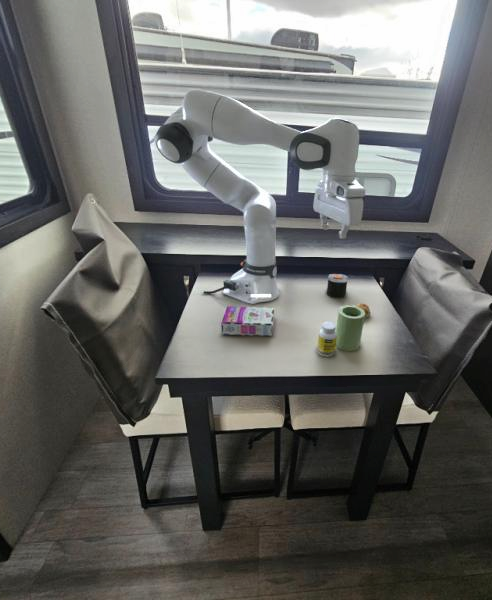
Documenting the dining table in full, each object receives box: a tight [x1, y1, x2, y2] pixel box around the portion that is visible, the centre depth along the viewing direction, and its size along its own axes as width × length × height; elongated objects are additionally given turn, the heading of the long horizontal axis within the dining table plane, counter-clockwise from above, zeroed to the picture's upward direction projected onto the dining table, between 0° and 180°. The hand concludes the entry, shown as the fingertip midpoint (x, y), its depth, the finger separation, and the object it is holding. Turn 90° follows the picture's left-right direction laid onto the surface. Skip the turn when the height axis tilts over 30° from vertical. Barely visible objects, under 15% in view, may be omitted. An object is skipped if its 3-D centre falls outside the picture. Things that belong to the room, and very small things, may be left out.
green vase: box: [335, 304, 366, 352], centre depth 99 cm, size 8×8×12 cm
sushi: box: [326, 273, 349, 299], centre depth 131 cm, size 8×8×8 cm
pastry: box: [354, 302, 372, 318], centre depth 117 cm, size 9×7×4 cm
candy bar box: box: [220, 305, 275, 337], centre depth 106 cm, size 11×5×16 cm
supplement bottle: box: [317, 321, 337, 357], centre depth 95 cm, size 5×5×10 cm
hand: (333, 233), depth 95 cm, fingers open, 8 cm apart
